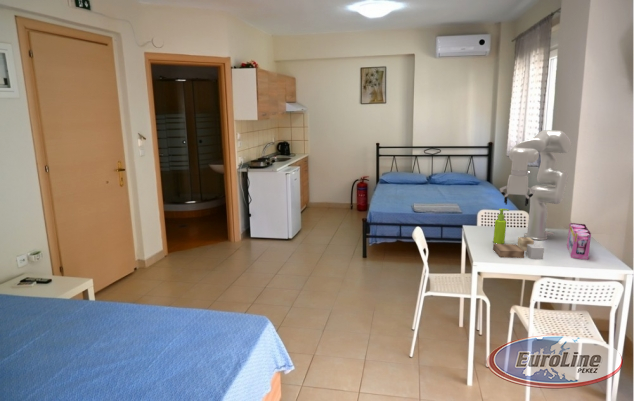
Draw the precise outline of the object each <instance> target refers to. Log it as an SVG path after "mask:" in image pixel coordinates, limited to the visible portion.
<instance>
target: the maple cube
mask: <svg viewBox="0 0 634 401" xmlns="http://www.w3.org/2000/svg"><path fill="white" fill-rule="evenodd" d="M534 242H535V240H533V239H531V238H527V237H524V236H522V237H521V236H519V237H518V238H517V245H518V246H519V247H520V248H521V249H522V250H523V251H525V252H527V244H532V245H535V244H534Z"/></svg>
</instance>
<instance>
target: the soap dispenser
mask: <svg viewBox="0 0 634 401" xmlns="http://www.w3.org/2000/svg"><path fill="white" fill-rule="evenodd" d="M498 210H499V213H498V214H497V219H495V221H494V230H493V240H492V242H493V244H496V243H497V244H505V238H506V229H507V220H505V217H506V216H505V214H504V211H508V212H509V211H510V209H508V208H498Z"/></svg>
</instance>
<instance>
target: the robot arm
mask: <svg viewBox="0 0 634 401" xmlns="http://www.w3.org/2000/svg"><path fill="white" fill-rule="evenodd" d="M571 148H572V141H571V139H570V138H569V137H568V135H567V134H566V133H565V132H564V131H562V130H555V129H554V130H552V129H551V130H550V129H546V130H541V131H539V132H538V133H537V134H536V135H534V136H533V138H531V139H527V140H524V141H520V142H518V143H516V144H515V145H514V146H512V147H511V149H510V151H509V154H508V157H509V160H510V161H511V170H510V174H509V175H508V179H507V185H505V186H502V187H499V191H500V194H501V195H502V196H503V197H504V199H503V203H504V204H505V205H508V196H509V195H514V196H515V195H517V196H524V197H525V201H524V206H525V207H527V205H529V214H528V222H527V230H526V233H524V235H523V237H527V238H531V239H532V240H533V241H546V240H548V236H554V234H555V233H554V232H553V231H548V230H546V227H547V221H548V220H547V219H548V212H549V211H548V207H547V204H546V203H548V204H555V205H558V204H561V203H562V201H563V199H564V196H565V192H566V191H565V190H566V186H567V184H568V178H569V177H568V172H567V171H566V170H564V169H559V168H557V165H558V160H557V157H556V156H555V155H554V153H555V154H557V153H558V154H567V153H569V151H571ZM539 155H540V156H539ZM539 157H540V160H541V161H540V164H539V168H538V172H537V175H536V176H537V177H536V181H537V183H539V184H540V185H539V184H536V185H533V186H531V187H529V175H530V174H531V172H530V171H529V170H528V166H529V164H532V163H535V162H536V161H538V159H539ZM528 163H529V164H528ZM504 190H506V192H504ZM528 192H529V193H528Z"/></svg>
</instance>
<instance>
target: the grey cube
mask: <svg viewBox="0 0 634 401" xmlns="http://www.w3.org/2000/svg"><path fill="white" fill-rule="evenodd" d="M544 251H545V248H544V247H543V246H542V245H541V244H533V245H532V244H527V251H525V253H526V254H525V255H526V256H527V258H529V259H530V260H544Z"/></svg>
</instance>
